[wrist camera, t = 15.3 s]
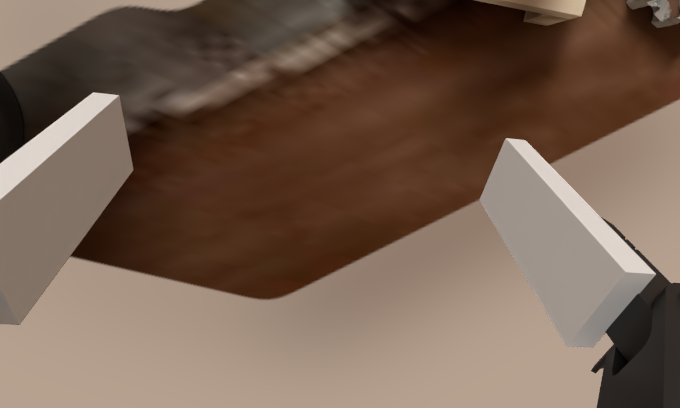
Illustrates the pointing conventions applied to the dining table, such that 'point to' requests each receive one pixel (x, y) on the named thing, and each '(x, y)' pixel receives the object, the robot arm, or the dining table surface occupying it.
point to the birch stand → (544, 9)
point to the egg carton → (657, 11)
